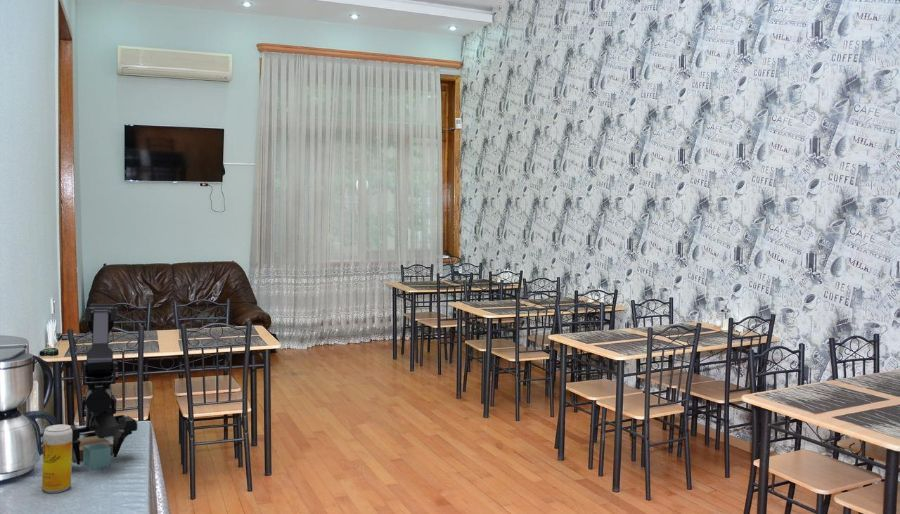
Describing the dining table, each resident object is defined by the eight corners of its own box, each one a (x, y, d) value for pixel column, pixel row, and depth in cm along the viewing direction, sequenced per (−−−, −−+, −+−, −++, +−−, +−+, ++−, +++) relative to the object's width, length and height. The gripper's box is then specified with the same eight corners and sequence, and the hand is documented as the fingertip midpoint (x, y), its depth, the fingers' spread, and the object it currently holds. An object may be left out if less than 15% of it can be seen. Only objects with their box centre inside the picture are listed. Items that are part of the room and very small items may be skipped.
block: (83, 464, 188) (83, 445, 187) (103, 460, 191) (103, 442, 191) (90, 469, 184) (90, 451, 184) (110, 465, 188) (110, 447, 187)
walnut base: (61, 452, 195) (61, 441, 195) (99, 445, 202) (99, 435, 202) (73, 462, 188) (74, 451, 188) (112, 455, 195) (113, 444, 195)
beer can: (38, 488, 170) (39, 426, 170) (65, 482, 175) (67, 422, 174) (47, 495, 166) (48, 433, 166) (74, 489, 171) (76, 428, 170)
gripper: (70, 415, 174) (69, 477, 175) (146, 404, 188) (144, 462, 189) (55, 405, 182) (54, 465, 183) (129, 395, 196) (128, 450, 196)
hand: (96, 460), depth 188 cm, fingers open, 9 cm apart
